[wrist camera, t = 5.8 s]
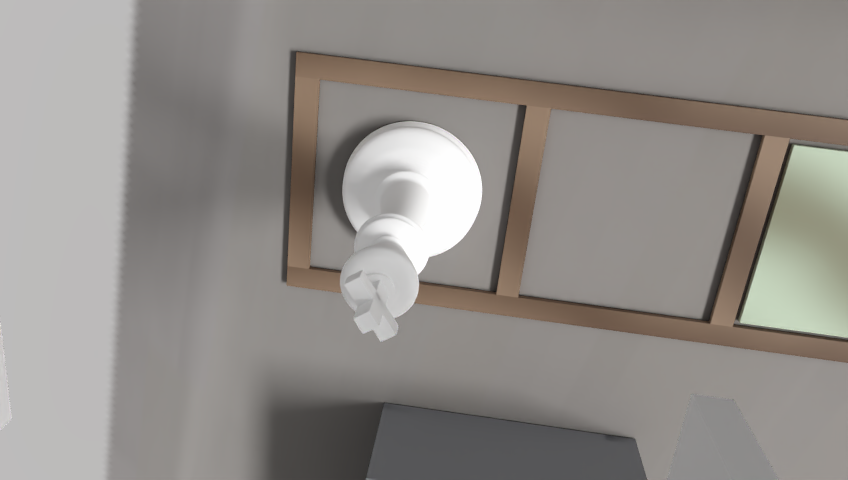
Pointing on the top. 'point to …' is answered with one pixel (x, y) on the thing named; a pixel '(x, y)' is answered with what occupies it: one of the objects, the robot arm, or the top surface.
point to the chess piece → (403, 215)
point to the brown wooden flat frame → (804, 171)
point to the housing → (493, 450)
